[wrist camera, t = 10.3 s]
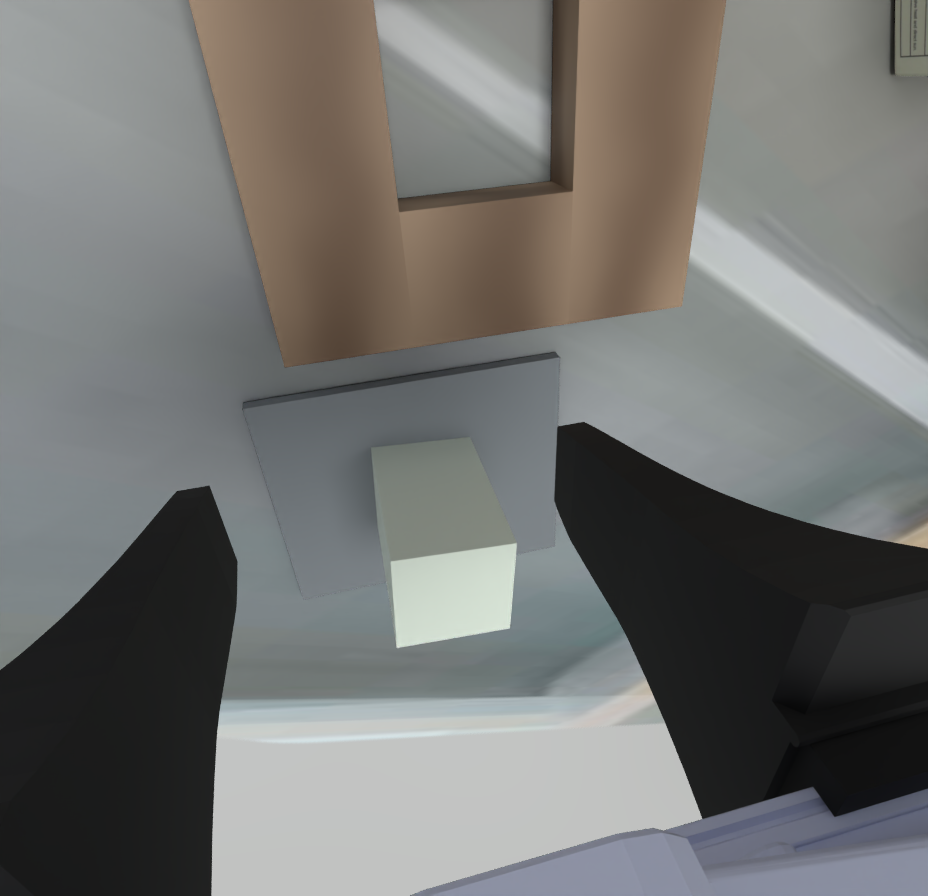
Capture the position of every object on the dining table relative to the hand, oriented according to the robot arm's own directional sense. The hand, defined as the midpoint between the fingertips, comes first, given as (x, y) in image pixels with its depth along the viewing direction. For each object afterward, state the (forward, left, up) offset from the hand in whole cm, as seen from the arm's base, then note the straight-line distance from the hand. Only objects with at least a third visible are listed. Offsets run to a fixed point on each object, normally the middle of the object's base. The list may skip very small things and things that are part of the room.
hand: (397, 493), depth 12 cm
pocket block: (+4, +6, -10) cm, 13 cm away
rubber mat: (+1, -8, -10) cm, 13 cm away
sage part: (+1, -7, -10) cm, 12 cm away
